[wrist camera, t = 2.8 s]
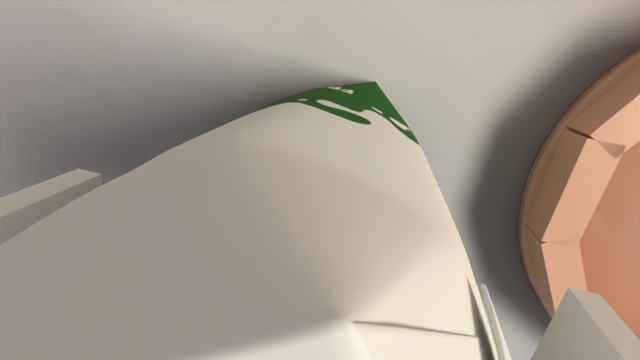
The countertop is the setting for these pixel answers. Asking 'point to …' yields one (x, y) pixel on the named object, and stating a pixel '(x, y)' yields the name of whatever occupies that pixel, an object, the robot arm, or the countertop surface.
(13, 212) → the robot arm
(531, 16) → the countertop surface
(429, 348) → the soya milk
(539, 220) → the tray
